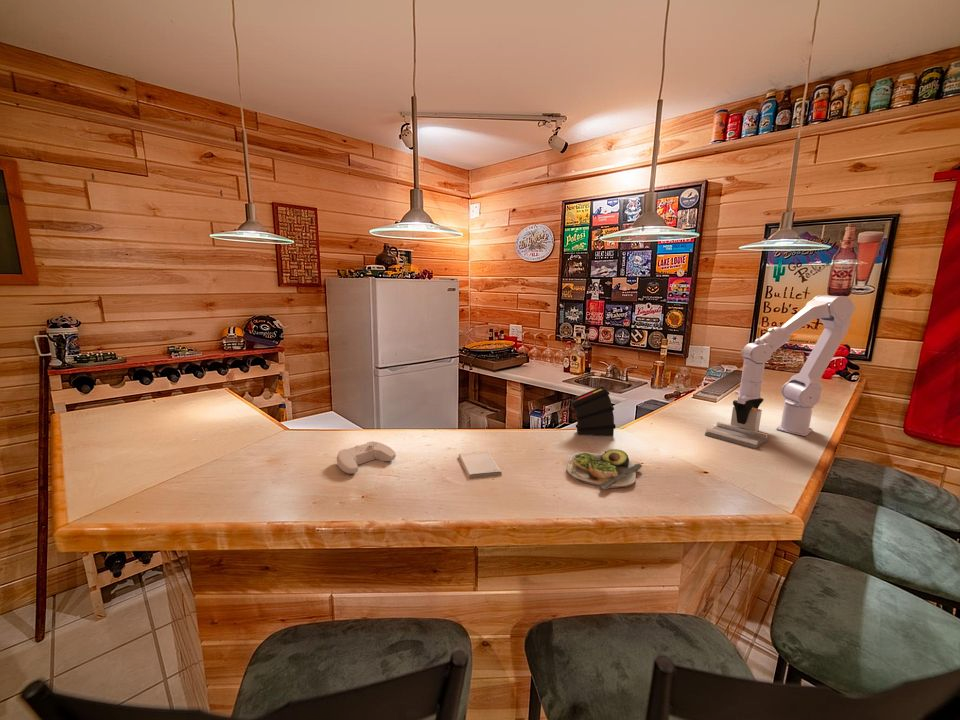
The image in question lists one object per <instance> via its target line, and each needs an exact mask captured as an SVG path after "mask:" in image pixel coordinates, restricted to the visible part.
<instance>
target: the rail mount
mask: <svg viewBox="0 0 960 720" xmlns="http://www.w3.org/2000/svg"><path fill="white" fill-rule="evenodd" d="M704 436H707V437H712V438H714V439H715V438H716V439H719V440H722V441H726V442H729V443H733V444H735V445H740V446H744V447H746V448H749V449H750V448H751V449H755V450H756V449H758V447H760V446H761V445H763V444H764V443H765V442H767V441H768V438H769V437H768V433H764V432H760V431H757V432H756V431H752V430H748V429H744V428H740V427H736V426H732V425H731V424H727V423H724V422H719V421H718V422H716V426H714V427H713V428H710V427H706V429H705V432H704Z"/></svg>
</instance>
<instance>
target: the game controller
mask: <svg viewBox="0 0 960 720" xmlns="http://www.w3.org/2000/svg"><path fill="white" fill-rule="evenodd" d="M396 456H397V453H396V451H394V449H393V448H392V447H390V446H388V445H386V444H384V443H381V442H379V441H373V440H372V441H367V442H365V443H363V444H358V445H354V446H353V447H350V448H346V449H345V448H344V449H341V450H339V451H338V453H337V455H336V463H337V467H338V468H339V469H340V470H341V471H342V472H343V473H345V474H348V475H350V474H355V473H357V472H358V471H359V465H361V464H364V463H368V462H370V461H374V460H378V461H383V462H392V461H394V460H395V459H396V458H397V457H396Z"/></svg>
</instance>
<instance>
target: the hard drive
mask: <svg viewBox="0 0 960 720" xmlns="http://www.w3.org/2000/svg"><path fill="white" fill-rule="evenodd" d="M458 459H459V461H460V463H461V465H462V467H463V469H464V471H465V473H466V475H467V477H468V479H469V480H470V479H477V478H488V477H496V476H499V477H500V476H502V475H503V474H502V473H503V472H502V471H501V469H500V468H499V466H498V465H497V463H496V462H495V459H494V458H493V457H492V456H491V454H490V452H489V451H487V450H486V451H476V452H466V453H465V452H464V453H460V454H458Z"/></svg>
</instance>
